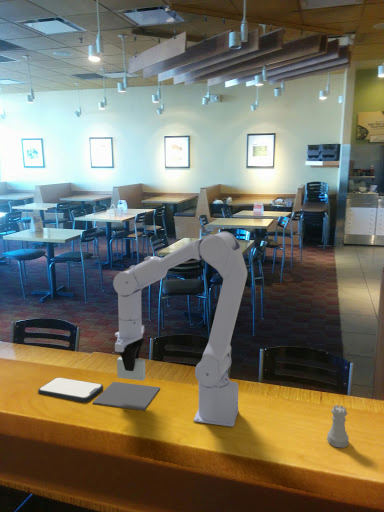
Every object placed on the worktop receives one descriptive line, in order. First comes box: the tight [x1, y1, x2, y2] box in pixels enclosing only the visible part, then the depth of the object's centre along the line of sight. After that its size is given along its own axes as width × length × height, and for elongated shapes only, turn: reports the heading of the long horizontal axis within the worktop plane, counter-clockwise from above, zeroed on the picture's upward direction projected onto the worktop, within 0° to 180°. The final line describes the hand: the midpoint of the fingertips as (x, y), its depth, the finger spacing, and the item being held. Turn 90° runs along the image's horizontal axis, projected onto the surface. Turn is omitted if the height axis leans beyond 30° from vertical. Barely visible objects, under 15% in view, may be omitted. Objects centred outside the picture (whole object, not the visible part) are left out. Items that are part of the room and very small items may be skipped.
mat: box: [92, 381, 161, 412], centre depth 109 cm, size 14×12×1 cm
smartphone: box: [37, 377, 104, 403], centre depth 112 cm, size 9×2×16 cm
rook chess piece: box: [326, 404, 350, 449], centre depth 88 cm, size 4×4×8 cm
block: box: [116, 356, 146, 381], centre depth 106 cm, size 7×2×5 cm, turn 75°
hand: (131, 368), depth 106 cm, fingers closed on block, 2 cm apart
